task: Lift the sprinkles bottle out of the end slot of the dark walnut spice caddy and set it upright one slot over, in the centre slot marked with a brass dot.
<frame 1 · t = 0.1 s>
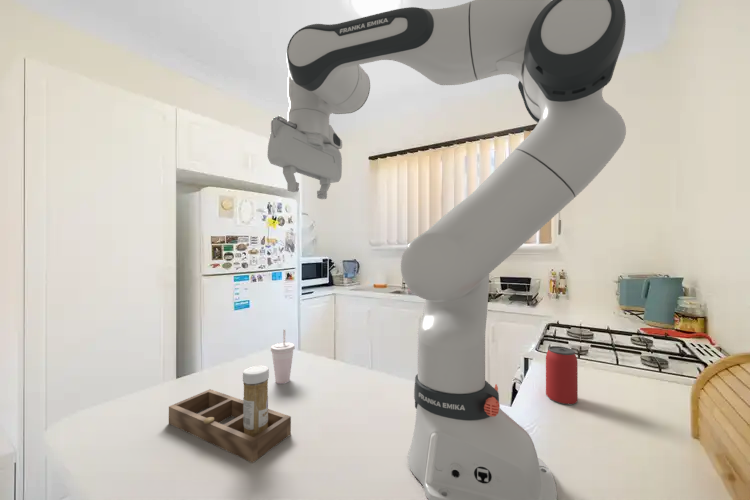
hand: (308, 195, 66), 48 cm above the counter, tool pointing down, fingers open, 8 cm apart
beer can: (561, 399, 73), on the counter
smoothie: (282, 381, 83), on the counter
sprinkles bottle: (255, 441, 57), resting in spice caddy
spice caddy: (227, 428, 61), on the counter
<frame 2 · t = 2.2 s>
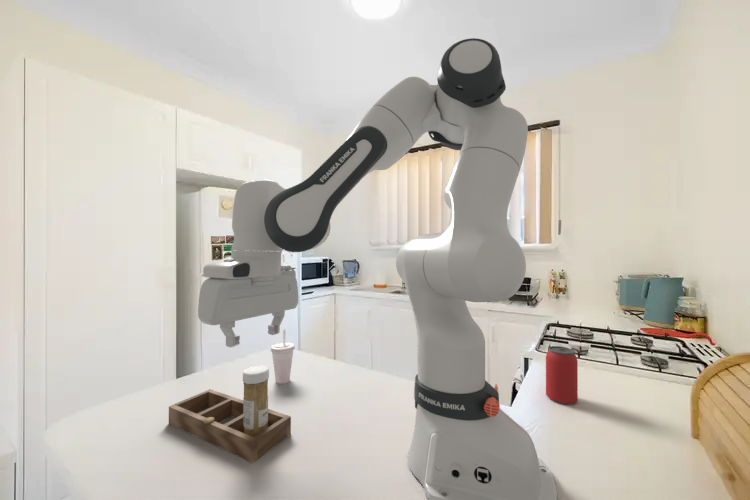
hand: (254, 339, 57), 19 cm above the counter, tool pointing down, fingers open, 8 cm apart
nothing on the counter moved.
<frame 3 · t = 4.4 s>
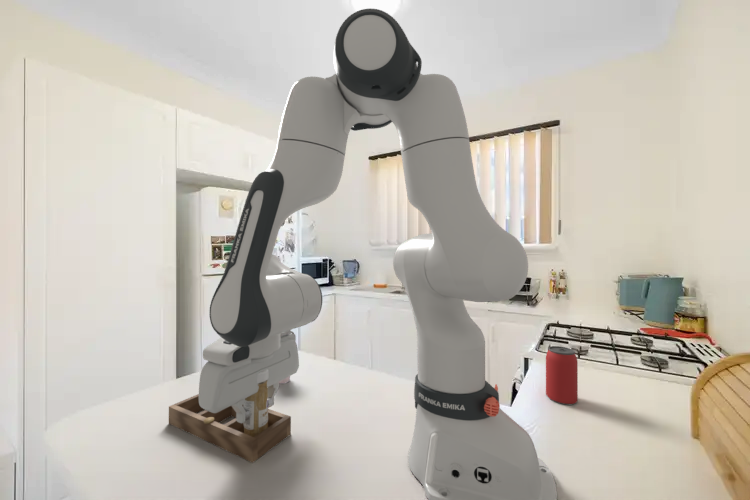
hand: (255, 413, 57), 5 cm above the counter, tool pointing down, fingers closed on sprinkles bottle, 4 cm apart
sprinkles bottle: (255, 441, 57), resting in spice caddy, touching gripper
everything else where it was.
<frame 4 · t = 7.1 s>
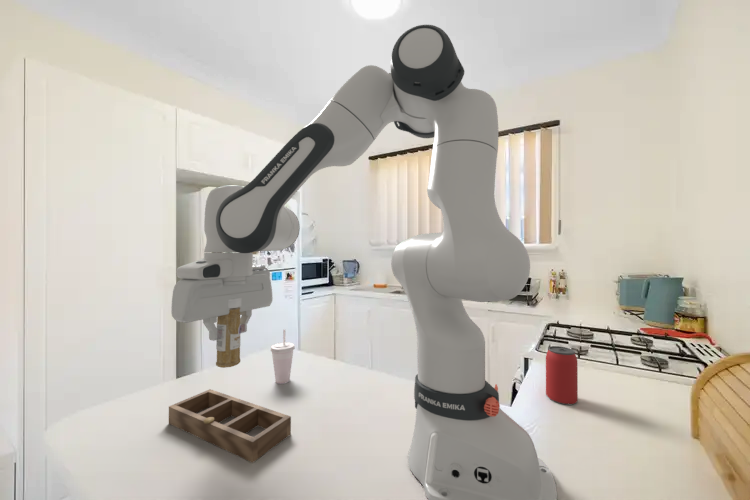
hand: (228, 335, 61), 19 cm above the counter, tool pointing down, fingers closed on sprinkles bottle, 4 cm apart
sprinkles bottle: (228, 365, 61), point 13 cm above the counter, touching gripper
everything else where it was.
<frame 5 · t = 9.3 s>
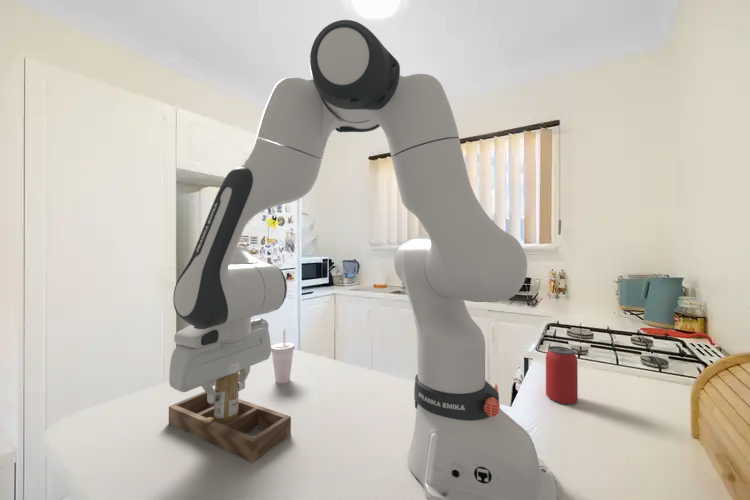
hand: (226, 395, 61), 7 cm above the counter, tool pointing down, fingers closed on sprinkles bottle, 4 cm apart
sprinkles bottle: (225, 430, 61), resting in spice caddy, touching gripper
everything else where it was.
when the fingers open (7 cm above the counter, at t = 10.0 s): sprinkles bottle stays where it is, resting in spice caddy.
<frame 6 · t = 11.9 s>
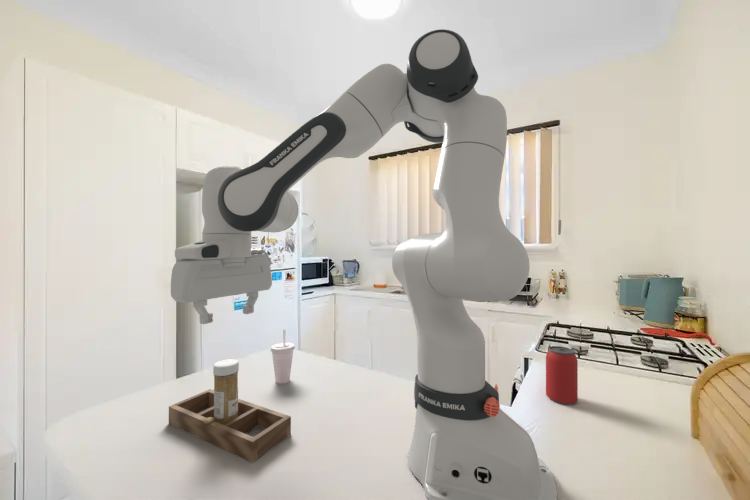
hand: (228, 318, 61), 22 cm above the counter, tool pointing down, fingers open, 8 cm apart
sprinkles bottle: (225, 430, 61), resting in spice caddy
everything else where it was.
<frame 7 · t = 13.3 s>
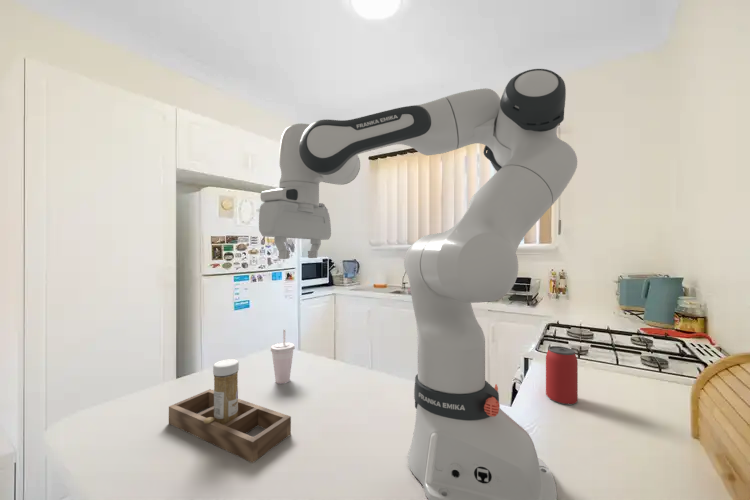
hand: (299, 258, 69), 34 cm above the counter, tool pointing down, fingers open, 8 cm apart
nothing on the counter moved.
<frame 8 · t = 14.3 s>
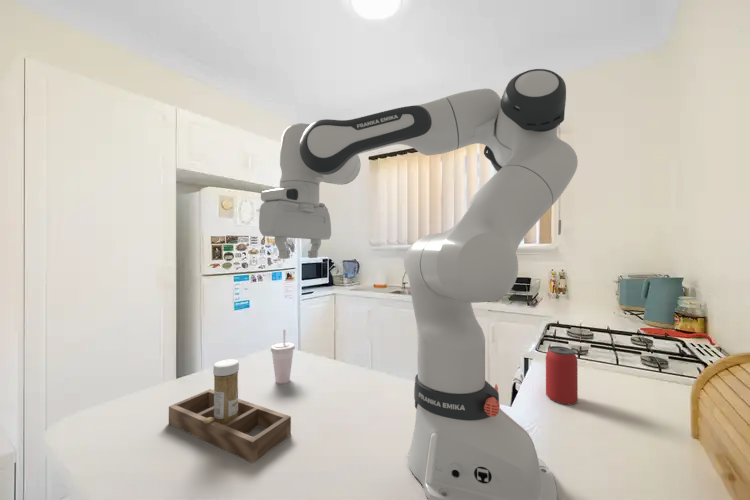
hand: (299, 258, 69), 34 cm above the counter, tool pointing down, fingers open, 8 cm apart
nothing on the counter moved.
at the end: sprinkles bottle 0.3 cm off-centre on the spice caddy, point 0.0 cm above the spice caddy's base; sprinkles bottle tilted 0°; the gripper is holding nothing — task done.
